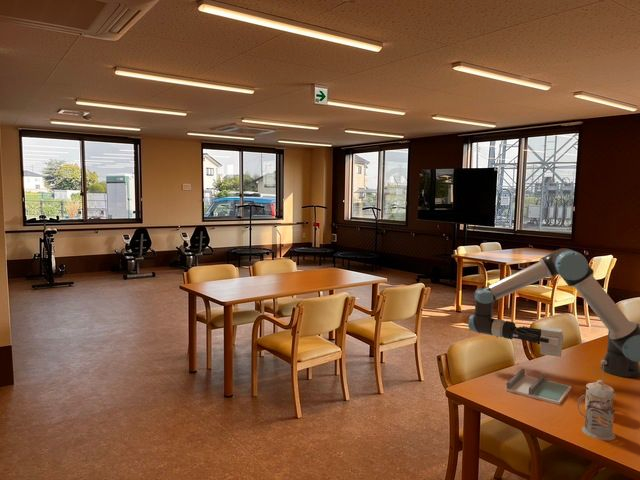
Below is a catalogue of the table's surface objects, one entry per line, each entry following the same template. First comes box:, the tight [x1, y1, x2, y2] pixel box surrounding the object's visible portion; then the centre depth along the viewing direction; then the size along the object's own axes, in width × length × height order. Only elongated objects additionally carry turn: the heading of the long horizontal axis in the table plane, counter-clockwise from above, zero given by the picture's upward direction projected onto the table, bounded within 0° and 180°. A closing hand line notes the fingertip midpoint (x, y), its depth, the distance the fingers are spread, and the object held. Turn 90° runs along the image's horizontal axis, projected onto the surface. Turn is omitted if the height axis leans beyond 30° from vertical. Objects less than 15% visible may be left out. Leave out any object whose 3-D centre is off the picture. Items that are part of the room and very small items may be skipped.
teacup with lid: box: [584, 379, 615, 415], centre depth 177 cm, size 12×9×12 cm
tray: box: [506, 368, 572, 405], centre depth 195 cm, size 20×20×4 cm
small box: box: [539, 326, 564, 358], centre depth 201 cm, size 8×6×10 cm
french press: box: [576, 359, 617, 441], centre depth 160 cm, size 10×12×25 cm
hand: (560, 340), depth 199 cm, fingers closed on small box, 7 cm apart
